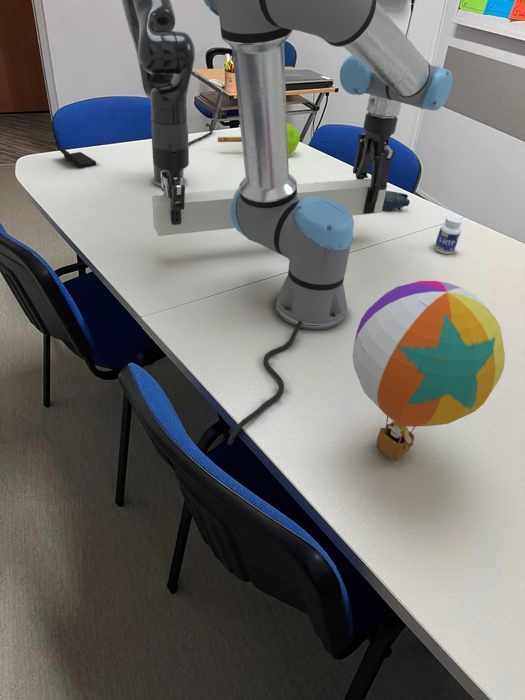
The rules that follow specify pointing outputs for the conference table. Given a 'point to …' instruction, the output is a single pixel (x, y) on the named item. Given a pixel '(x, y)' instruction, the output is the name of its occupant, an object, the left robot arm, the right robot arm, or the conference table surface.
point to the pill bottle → (448, 235)
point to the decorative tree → (291, 137)
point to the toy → (426, 358)
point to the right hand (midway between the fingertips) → (362, 208)
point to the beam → (216, 205)
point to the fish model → (395, 200)
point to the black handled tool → (77, 158)
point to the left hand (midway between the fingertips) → (173, 218)
